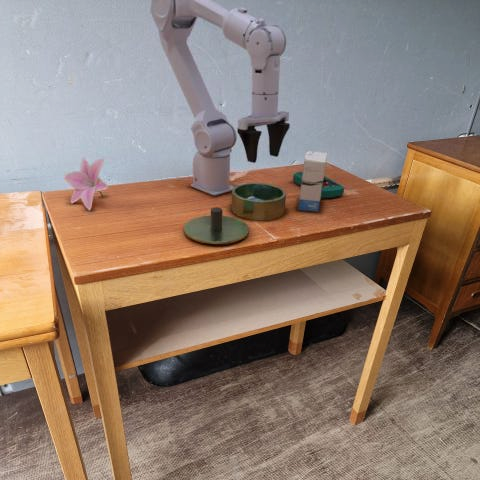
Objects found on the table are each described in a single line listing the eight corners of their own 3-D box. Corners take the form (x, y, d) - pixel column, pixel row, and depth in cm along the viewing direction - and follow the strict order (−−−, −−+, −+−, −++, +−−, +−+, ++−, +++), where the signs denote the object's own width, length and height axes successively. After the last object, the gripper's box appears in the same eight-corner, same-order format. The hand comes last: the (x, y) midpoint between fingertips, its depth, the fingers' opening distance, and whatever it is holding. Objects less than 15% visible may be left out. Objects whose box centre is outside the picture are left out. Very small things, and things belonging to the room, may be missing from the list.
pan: (220, 208, 104) (220, 190, 101) (256, 196, 111) (257, 179, 109) (258, 225, 97) (260, 205, 94) (294, 211, 104) (296, 193, 102)
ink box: (318, 212, 104) (326, 161, 97) (297, 210, 105) (303, 159, 98) (320, 200, 111) (327, 151, 104) (300, 198, 111) (306, 149, 105)
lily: (67, 198, 109) (47, 169, 100) (109, 174, 111) (92, 143, 102) (87, 228, 104) (68, 200, 95) (130, 202, 105) (115, 172, 97)
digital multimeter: (320, 200, 111) (321, 189, 109) (291, 181, 122) (292, 171, 120) (344, 197, 113) (346, 186, 112) (314, 179, 124) (315, 168, 123)
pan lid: (170, 231, 93) (169, 207, 90) (218, 215, 101) (218, 193, 98) (214, 253, 85) (214, 228, 82) (261, 234, 93) (263, 211, 90)
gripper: (255, 98, 88) (254, 168, 96) (301, 91, 96) (296, 156, 104) (230, 94, 92) (231, 162, 100) (276, 88, 101) (274, 151, 108)
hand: (263, 158), depth 102 cm, fingers open, 7 cm apart
